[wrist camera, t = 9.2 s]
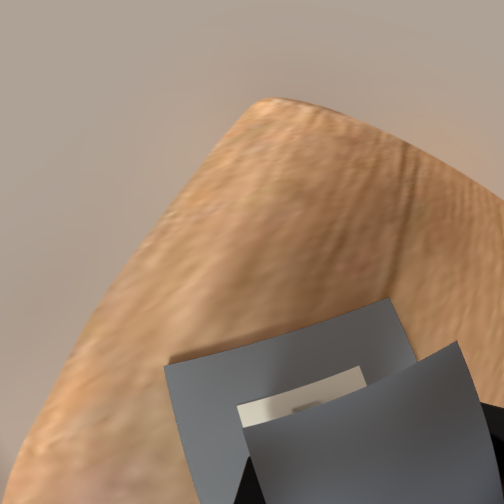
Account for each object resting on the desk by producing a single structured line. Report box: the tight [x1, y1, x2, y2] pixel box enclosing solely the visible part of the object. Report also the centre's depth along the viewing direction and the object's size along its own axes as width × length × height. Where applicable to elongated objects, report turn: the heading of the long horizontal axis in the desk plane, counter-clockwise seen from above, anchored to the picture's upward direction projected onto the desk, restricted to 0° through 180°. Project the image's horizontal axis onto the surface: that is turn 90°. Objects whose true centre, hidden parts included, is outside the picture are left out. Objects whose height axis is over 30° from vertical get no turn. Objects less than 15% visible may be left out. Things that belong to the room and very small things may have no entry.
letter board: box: [164, 297, 417, 504], centre depth 13 cm, size 14×14×1 cm
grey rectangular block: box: [242, 341, 504, 504], centre depth 8 cm, size 5×5×10 cm
